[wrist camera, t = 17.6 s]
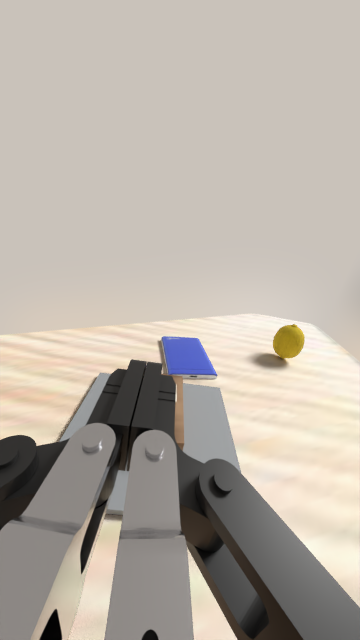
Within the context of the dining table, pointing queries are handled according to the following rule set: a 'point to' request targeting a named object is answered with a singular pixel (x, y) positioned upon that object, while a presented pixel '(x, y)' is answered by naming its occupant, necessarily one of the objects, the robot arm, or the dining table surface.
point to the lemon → (288, 341)
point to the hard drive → (187, 358)
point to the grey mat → (199, 430)
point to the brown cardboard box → (179, 411)
